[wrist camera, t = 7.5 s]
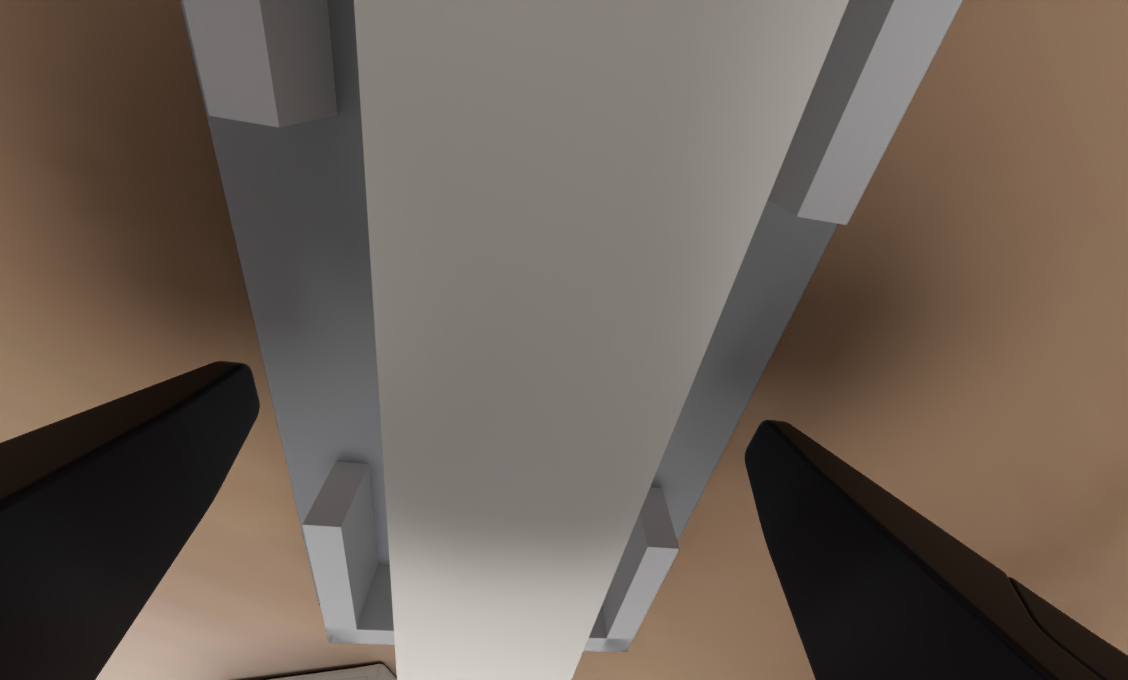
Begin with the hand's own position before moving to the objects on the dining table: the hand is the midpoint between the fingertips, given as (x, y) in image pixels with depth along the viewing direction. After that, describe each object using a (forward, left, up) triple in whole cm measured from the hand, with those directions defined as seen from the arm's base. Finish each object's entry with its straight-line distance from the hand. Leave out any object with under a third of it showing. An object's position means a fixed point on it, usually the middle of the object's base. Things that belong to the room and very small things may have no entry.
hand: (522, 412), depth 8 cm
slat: (0, 0, -2) cm, 2 cm away
